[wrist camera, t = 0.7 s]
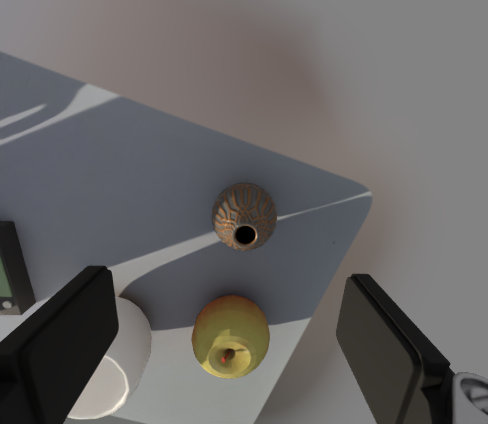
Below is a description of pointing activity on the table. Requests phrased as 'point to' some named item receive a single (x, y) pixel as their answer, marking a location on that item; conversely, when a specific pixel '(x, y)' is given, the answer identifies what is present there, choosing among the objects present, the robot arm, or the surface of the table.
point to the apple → (230, 336)
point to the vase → (244, 216)
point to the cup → (117, 366)
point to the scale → (13, 274)
